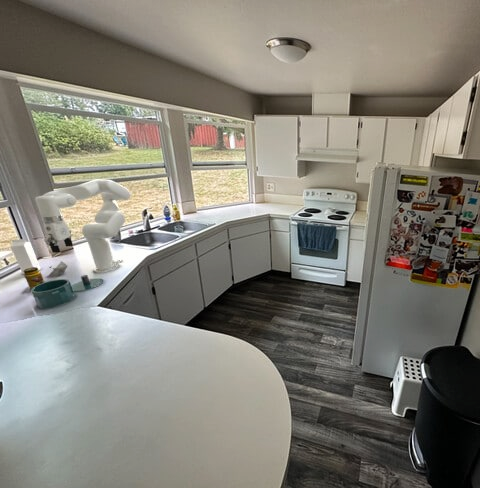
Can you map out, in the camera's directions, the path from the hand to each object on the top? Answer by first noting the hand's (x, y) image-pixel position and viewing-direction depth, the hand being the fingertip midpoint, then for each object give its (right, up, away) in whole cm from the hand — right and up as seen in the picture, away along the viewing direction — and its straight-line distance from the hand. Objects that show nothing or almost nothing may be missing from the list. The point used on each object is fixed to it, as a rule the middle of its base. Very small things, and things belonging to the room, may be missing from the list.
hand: (63, 249), depth 138 cm
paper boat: (-25, -16, +21) cm, 37 cm away
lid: (+6, -21, +7) cm, 23 cm away
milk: (-44, -15, +22) cm, 51 cm away
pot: (+5, -27, -7) cm, 29 cm away
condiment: (-20, -23, +4) cm, 30 cm away
